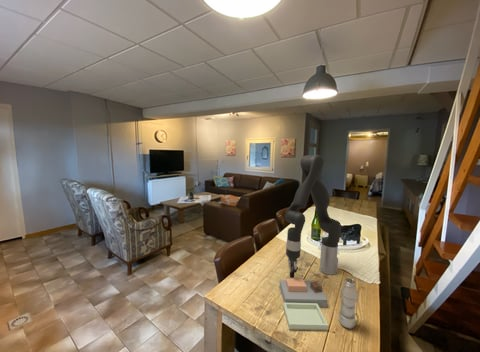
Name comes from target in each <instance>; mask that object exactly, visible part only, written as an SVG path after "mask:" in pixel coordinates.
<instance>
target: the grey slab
mask: <svg viewBox="0 0 480 352" xmlns="http://www.w3.org/2000/svg"><path fill="white" fill-rule="evenodd" d="M315 281H316V280H304V282H305V284H306V286H307V290H306V292H288V289H287V286H286V279H280V280H279V291H280V294H281V297H282V300H283V302H284V303H317V304H318V306H319V308H328V302H329V301H328V297H327V296H326V294H325V292H324V291H323V290H322V292H317V293H314V291H313V290H312V289H311V288H310V282H315Z"/></svg>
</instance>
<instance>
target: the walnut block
mask: <svg viewBox="0 0 480 352" xmlns="http://www.w3.org/2000/svg"><path fill="white" fill-rule="evenodd" d="M314 281H315V282H310V288H311V289H312V290H313V291H314V293H317V292H322V291H323V285H322V284H321V283H320V282H319V281H318V280H314Z"/></svg>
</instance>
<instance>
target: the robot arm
mask: <svg viewBox="0 0 480 352" xmlns="http://www.w3.org/2000/svg"><path fill="white" fill-rule="evenodd" d="M300 167H301V171H302V173H303V175H304V178H305V180H304V181H303V182H302V183H301V184H300V185H299V186H298V188H297V189H296V192H295V195H294V198H293V201H292V202H291V204H290V206H289V207H288V209H287V210H286V211H285V215H284V217H285V221H286V222H287V223H289V224H291V225H294V227H293V226H292V227H288V229H287V232H286V233H287V236H286V248H285V255H286V256H287V263H288V268H289V279H295V273H297V272H298V270H299V267H298V266H297V264H298V259H299V258H300V257H301V250H302V249H301V247H302V232H303V229H304V226H305V223H306V217H305V215H304V213H302V212H300V211H299V210H300V209H306V207H307V204H308V201H309V197H310V194H311V197H312V201H313V204H314V207H315V211H316V215H317V218H318V224H319V227H320V229H321V231H323V232H324V233H327V234H328V236H324V237H322V238H321V246H320V257H319V271H320V272H322V273H324V274H327V275H335V274H338V267H339V258H338V250H339V248H338V247H339V242H340V241H341V239H340V238H341V231H342V225H341V222H340V221H339V220H336V219H335V218H331V217H330V215H329V213H328V207H329V206H330V202H331V197H330V193H329V190H328V189H327V188H328V187H326V185H325V184H324V183H323V182H322V181H321V179H319V176H320V174H321V172H322V170H323V167H324V159H323V157H322V156H321V155H319V154H310V155H309V154H308V155H303V156H302V157H301V159H300Z"/></svg>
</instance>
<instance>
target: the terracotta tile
mask: <svg viewBox="0 0 480 352" xmlns="http://www.w3.org/2000/svg"><path fill="white" fill-rule="evenodd" d="M285 280H286V286H287V289H288V292H306V290H307V286H306V284H305V282H304V281H305V280H304V278H285Z"/></svg>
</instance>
